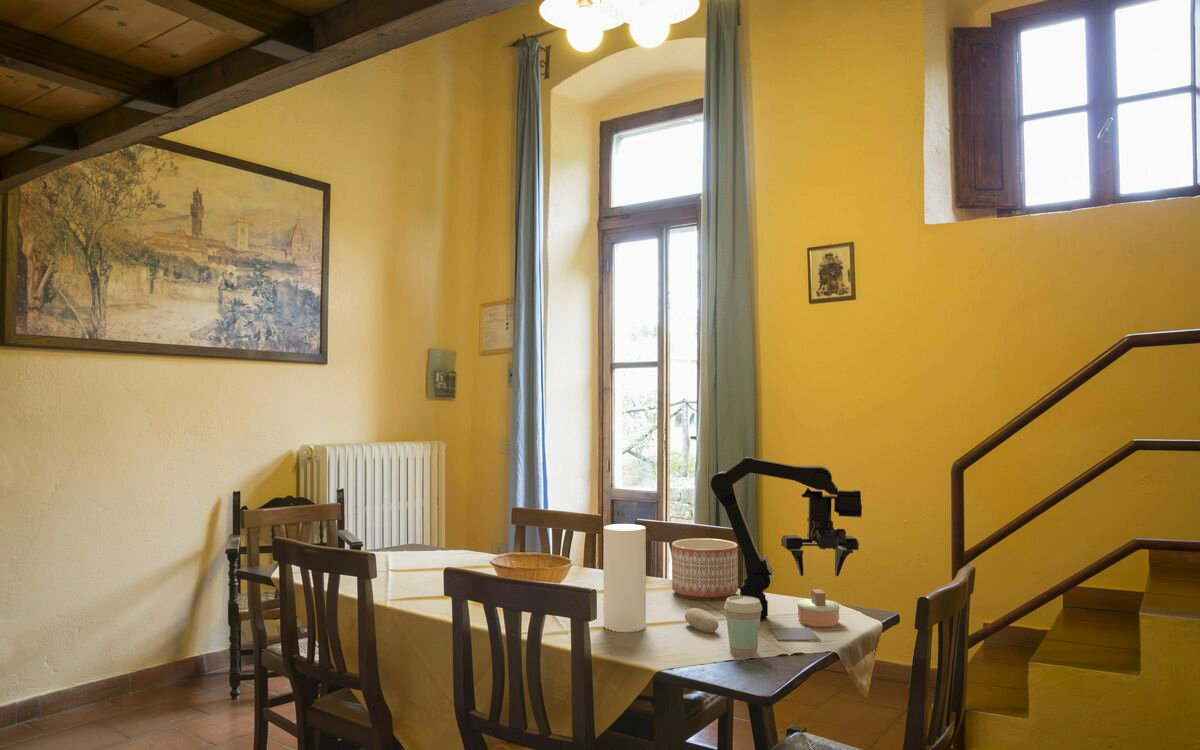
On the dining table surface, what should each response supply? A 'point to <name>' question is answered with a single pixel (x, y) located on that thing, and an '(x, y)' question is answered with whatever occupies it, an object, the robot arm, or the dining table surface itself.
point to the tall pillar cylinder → (625, 577)
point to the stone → (701, 620)
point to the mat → (794, 634)
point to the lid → (818, 602)
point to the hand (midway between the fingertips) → (819, 576)
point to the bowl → (818, 618)
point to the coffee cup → (743, 624)
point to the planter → (705, 568)
